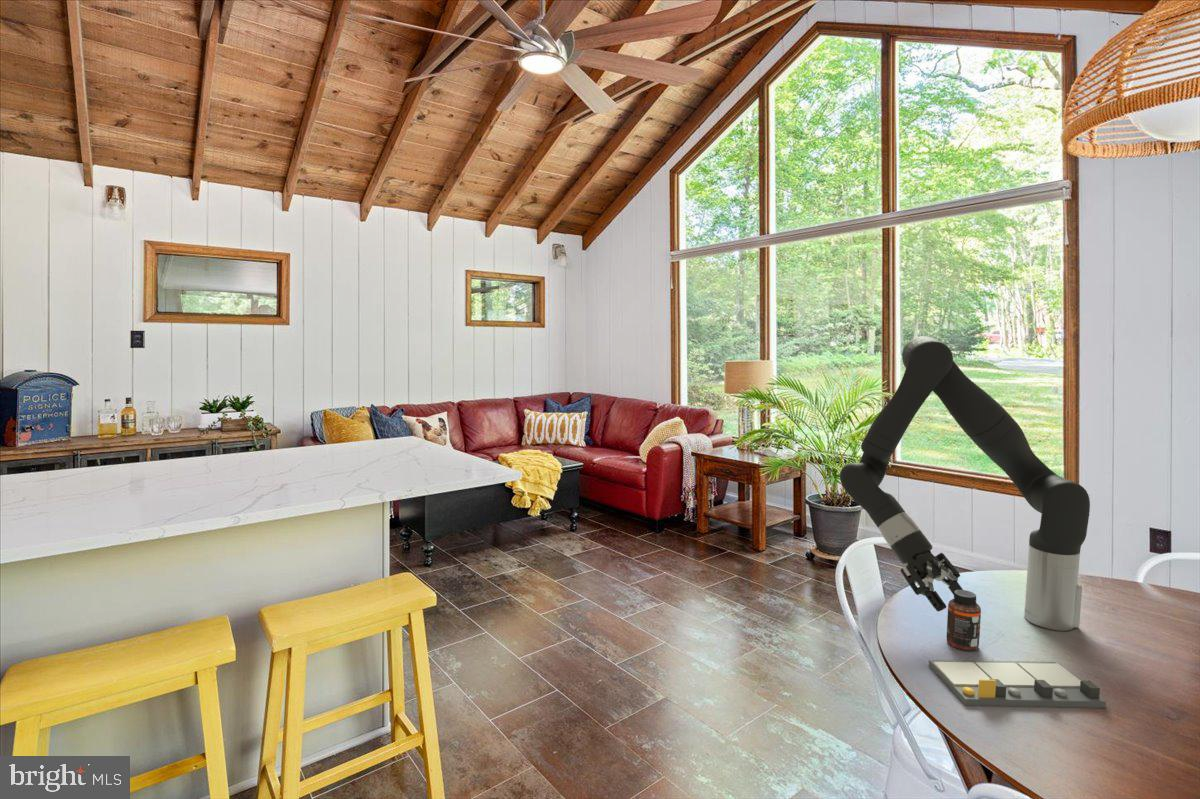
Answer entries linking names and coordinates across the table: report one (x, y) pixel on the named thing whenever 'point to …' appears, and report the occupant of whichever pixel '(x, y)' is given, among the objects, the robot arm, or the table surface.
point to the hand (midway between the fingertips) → (953, 604)
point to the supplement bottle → (963, 621)
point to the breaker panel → (1016, 684)
